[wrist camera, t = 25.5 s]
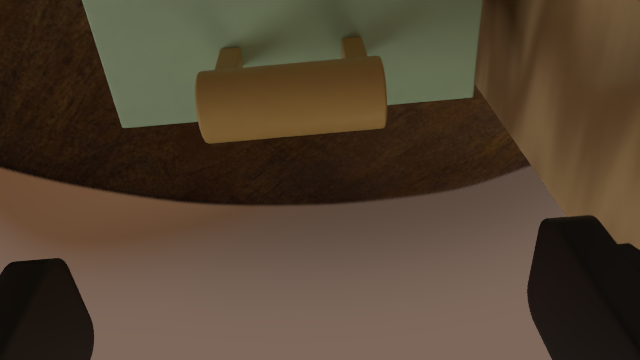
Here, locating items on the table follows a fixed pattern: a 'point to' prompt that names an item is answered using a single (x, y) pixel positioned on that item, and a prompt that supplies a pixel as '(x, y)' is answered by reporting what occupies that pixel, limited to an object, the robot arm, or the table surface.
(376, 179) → the table surface
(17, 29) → the table surface
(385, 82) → the lid
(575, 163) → the stand
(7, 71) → the table surface
